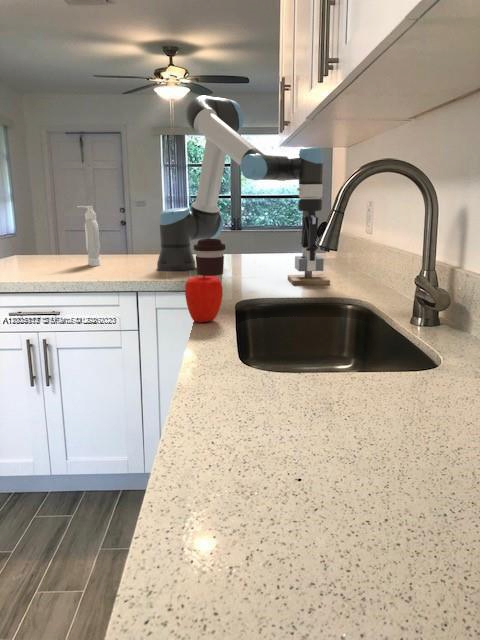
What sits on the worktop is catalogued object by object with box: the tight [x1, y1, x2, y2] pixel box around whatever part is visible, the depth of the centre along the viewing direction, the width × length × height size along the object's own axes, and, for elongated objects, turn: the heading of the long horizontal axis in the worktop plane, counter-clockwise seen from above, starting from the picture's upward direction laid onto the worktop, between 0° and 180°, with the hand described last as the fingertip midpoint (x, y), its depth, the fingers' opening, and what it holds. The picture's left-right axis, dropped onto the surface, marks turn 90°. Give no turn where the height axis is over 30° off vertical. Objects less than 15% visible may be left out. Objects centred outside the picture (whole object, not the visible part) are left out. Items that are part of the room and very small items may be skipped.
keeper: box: [287, 256, 331, 286], centre depth 168 cm, size 12×12×8 cm
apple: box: [184, 276, 224, 324], centre depth 117 cm, size 9×9×11 cm
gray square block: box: [294, 255, 325, 272], centre depth 167 cm, size 8×8×4 cm
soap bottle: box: [76, 205, 102, 267], centre depth 210 cm, size 13×8×24 cm, turn 22°
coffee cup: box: [193, 238, 226, 285], centre depth 159 cm, size 10×10×15 cm
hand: (308, 268), depth 168 cm, fingers closed on gray square block, 8 cm apart
